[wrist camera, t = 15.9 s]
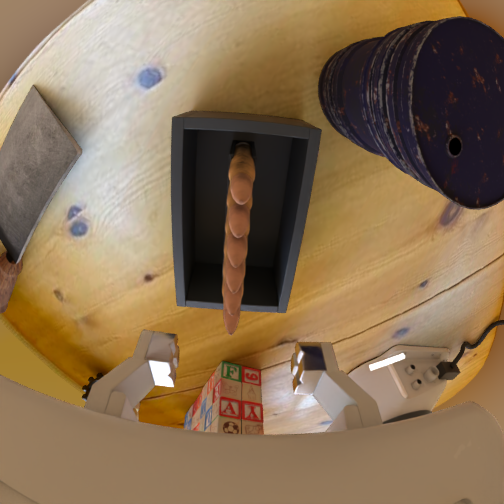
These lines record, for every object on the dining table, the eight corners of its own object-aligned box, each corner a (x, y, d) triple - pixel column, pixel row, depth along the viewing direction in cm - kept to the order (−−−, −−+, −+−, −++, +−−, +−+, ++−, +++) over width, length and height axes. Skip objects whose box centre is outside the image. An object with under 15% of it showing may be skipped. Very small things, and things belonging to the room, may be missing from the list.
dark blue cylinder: (372, 26, 17) (486, -7, 5) (430, 109, 21) (548, 149, 8) (292, 83, 21) (359, 73, 8) (360, 166, 25) (456, 247, 12)
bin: (302, 120, 22) (322, 129, 17) (278, 270, 31) (286, 313, 25) (190, 110, 22) (171, 117, 16) (188, 264, 30) (176, 306, 24)
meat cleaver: (32, 84, 18) (7, 87, 15) (94, 147, 23) (72, 158, 19) (-30, 262, 30) (-42, 276, 26) (11, 305, 34) (0, 321, 31)
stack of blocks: (214, 421, 50) (212, 475, 39) (184, 414, 48) (178, 469, 38) (261, 369, 40) (265, 444, 29) (221, 359, 38) (216, 437, 28)
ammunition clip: (244, 250, 28) (244, 344, 18) (225, 248, 28) (216, 342, 18) (254, 141, 23) (263, 184, 13) (232, 139, 23) (222, 181, 13)
